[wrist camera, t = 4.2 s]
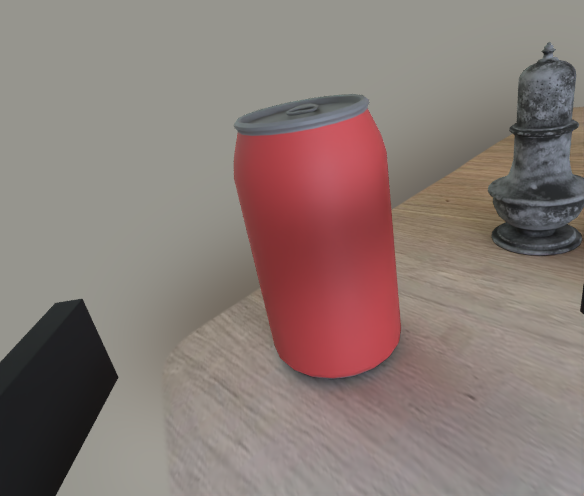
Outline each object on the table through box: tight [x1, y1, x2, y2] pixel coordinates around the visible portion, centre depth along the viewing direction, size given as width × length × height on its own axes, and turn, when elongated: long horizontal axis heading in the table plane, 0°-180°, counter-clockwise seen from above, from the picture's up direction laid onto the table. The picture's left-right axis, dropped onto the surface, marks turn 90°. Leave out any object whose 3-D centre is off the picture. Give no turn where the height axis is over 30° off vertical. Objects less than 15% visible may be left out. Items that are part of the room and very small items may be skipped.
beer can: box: [234, 94, 401, 379], centre depth 20 cm, size 7×7×12 cm
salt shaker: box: [488, 42, 584, 255], centre depth 26 cm, size 6×6×12 cm
